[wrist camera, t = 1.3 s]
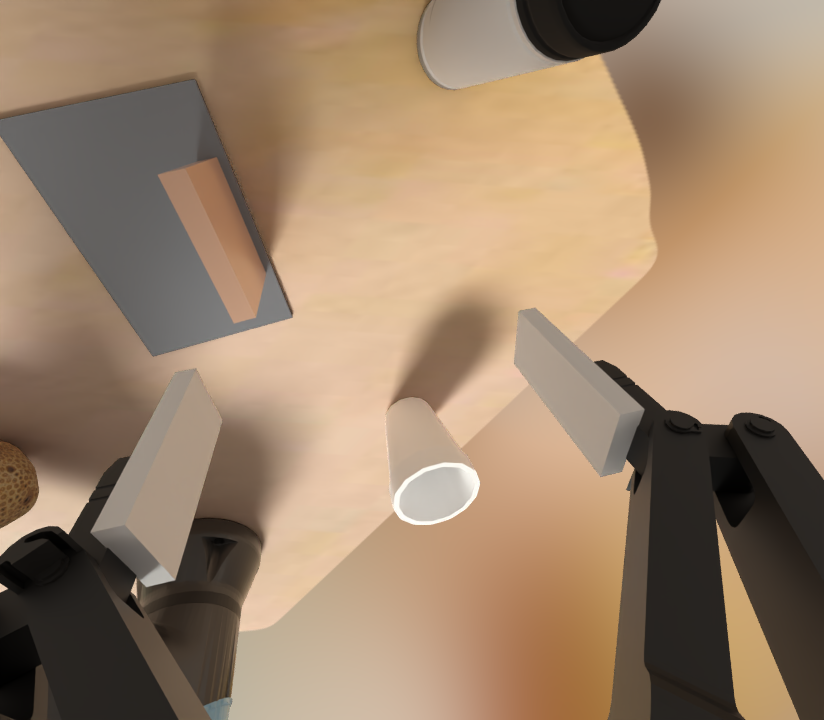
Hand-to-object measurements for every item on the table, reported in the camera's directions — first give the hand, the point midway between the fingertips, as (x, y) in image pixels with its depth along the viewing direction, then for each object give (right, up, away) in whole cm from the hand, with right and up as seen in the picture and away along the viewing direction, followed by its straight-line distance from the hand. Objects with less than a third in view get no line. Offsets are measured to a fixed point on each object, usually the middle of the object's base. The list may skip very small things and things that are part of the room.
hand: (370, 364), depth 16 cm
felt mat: (-19, +11, +17) cm, 28 cm away
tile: (-14, +12, +17) cm, 25 cm away
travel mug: (+5, +26, +15) cm, 30 cm away
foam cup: (+1, -7, +34) cm, 35 cm away
